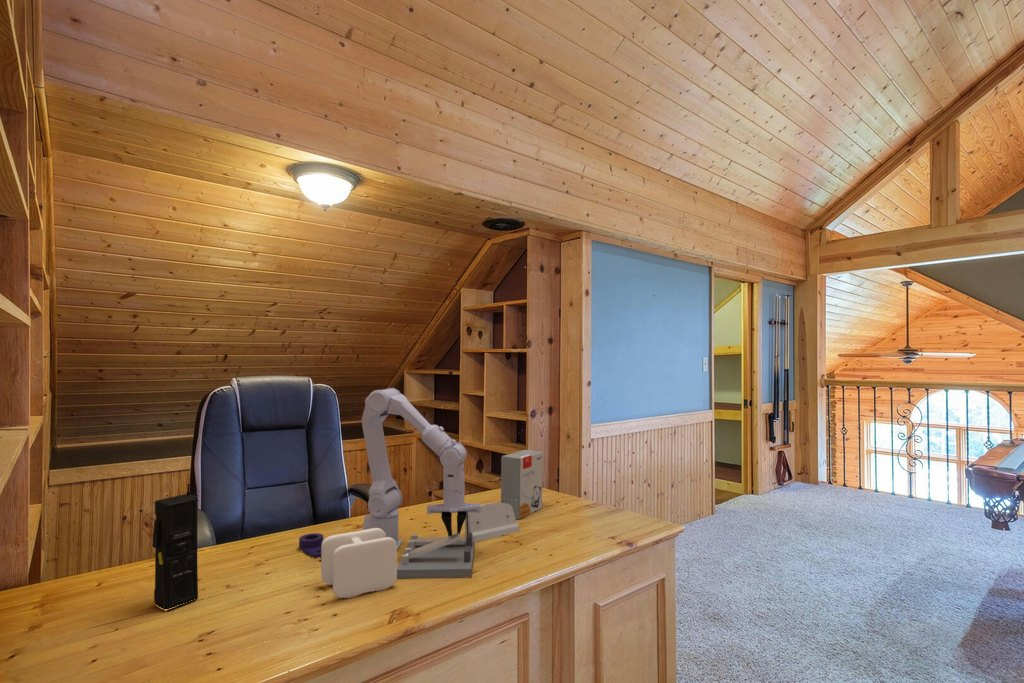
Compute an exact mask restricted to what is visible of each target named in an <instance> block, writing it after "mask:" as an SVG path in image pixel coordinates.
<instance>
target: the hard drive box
mask: <svg viewBox="0 0 1024 683" xmlns="http://www.w3.org/2000/svg"><path fill="white" fill-rule="evenodd" d="M543 457H544V456H543V451H538V450H531V449H523V450H519V451H515V452H512V453H509V454H505V455H502V456H501V461H500V462H501V463H500V464H501V468H500V470H501V472H500V476H501V478H500V503H506V504H510V505H511V506H512V509H513V512H514V515H515V519H516V520H521V519H523V518H525V517H524V516H526V517H527V516H529V515H531V514H533V513H536V512H538V511H540V510H542V509H543V464H544V463H543V462H544V461H543ZM541 508H542V509H541ZM539 509H540V510H539ZM537 510H538V511H537ZM535 511H536V512H535ZM520 518H521V519H520Z"/></svg>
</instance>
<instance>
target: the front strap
mask: <svg viewBox="0 0 1024 683" xmlns="http://www.w3.org/2000/svg"><path fill="white" fill-rule="evenodd" d="M460 537H461V533H460V534H459V533H457V532H456V533H454V534H453V533H452V535H451V536H448V535H447V536H446V537H445V538H443V539H440V540H438V541H435V542H432V543H430V544H427V545H424V546H422V547H419V548H416V549H414V550H411V551H406V553H405V555H409V559H411V558H414V557H417V556H419V555H422V554H425V553H427V552H430V551H433V550H435V549H438V548H440V547H443V546H446V545H448V544H451V543H454V542H456V541H459V540H460Z"/></svg>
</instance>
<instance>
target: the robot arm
mask: <svg viewBox="0 0 1024 683" xmlns="http://www.w3.org/2000/svg"><path fill="white" fill-rule="evenodd" d="M364 403H365V406H364V408H363V409H364V410H363V413H362V416H361V426H362V432H363V438H364V442H365V443H364V444H365V448H366V453H367V455H366V456H367V460H368V466H369V470H370V476H371V481H372V482H371V486H370V488H369V490H368V502H367V510H368V512H369V514H365V515H364V518H363V523H362V526H363V527H362V530H366V529H372V528H380V529H382V530H383V531H384V532H385V534H386V537H390V538H393V539H394V540H395V541H396V543H397V551H398V550H399V548H400V545H401V544H402V541H403V539H402V538H401V539H400V538H399V517H400V516H399V507H400V506H401V504H402V502H403V495H402V492H401V490H400V489H399V487H398V483H397V481H396V480H395V479H394V478H393V477H392V472H391V465H390V462H389V454H388V450H387V449H388V448H387V445H386V438H385V433H384V427H383V422H384V421H385V420H386V418H387V417H388V416H389V415H397V416H401V418H403V419H404V420H405V421H407V422H408V423H409V424H410V425H411V426H413V428H414V429H416V430H417V431H418V432H419V433H420V434H421V440H422V442H424V443H425V445H427V446H428V447H429V448H430V449H431V451H433V452H434V453H435V454H436V455H437V456H439V460H440V464H441V465H442V466H443V474H442V475H443V476H442V478H443V479H442V480H443V503H437V504H436V503H435V504H428V505H427V506H426V514H427V515H431V514H441V516H440V517H441V520H442V523H443V524H444V526H445V529H446V532H447V537H448V536H451V535H453V527H452V526H453V524H452V520H453V519H452V517H453V514H455V513H456V533H459V534H460V535H461V531H462V528H463V525H464V524H465V518H466V515H467V513H468V512H477V513H481V505H482V503H472V502H471V503H470V502H465V496H466V495H465V494H466V493H465V488H466V487H465V462H464V461H466V459H467V455H468V453H467V449H466V448H465V446H464V445H463V444H462V443H460V442H457V440H456V439H454V438H451V437H450V436H449V435H448V434H447V433H446V432H445V431H444V430H445V429H444V427H443V426H439V425H438V424H431V423H430V422H429V421H428V420H426V418H424V416H423V415H422V414H421V413H420V411H419V410H417V409H416V408H415V406H413V404H412V403H411V402H410V401H409V400H408V398H407V397H406V396H405V395H404V394H402V393H401V392H400V390H398V389H396V388H395V387H389V388H385V389H375V390H373V391H372V392H370V394H369V395H368V396H367V397H366V398H365V399H364Z"/></svg>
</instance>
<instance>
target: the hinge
mask: <svg viewBox="0 0 1024 683" xmlns="http://www.w3.org/2000/svg"><path fill="white" fill-rule="evenodd" d="M464 530H465V532H464V534H465V536H464V537H466V535H467V533H472V537H475V543H477V541H479V542H482V541H481V540H483V541H486V540H485V539H488V540H490V539H489V538H492V539H495V538H494V537H496V538H499V537H498V536H501V535H505V536H507V535H506V534H510V533H514V532H518V533H520V532H521V529H520V525H519V524H518V522H517V519H515V515H514V512H513V509H512V506H511V505H510V504H506V503H501V502H487V503H482V504H481V513H477V512H468V513H467V515H466V518H465V521H464ZM519 531H520V532H519ZM514 534H515V533H514ZM510 535H511V534H510ZM501 537H502V536H501Z"/></svg>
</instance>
